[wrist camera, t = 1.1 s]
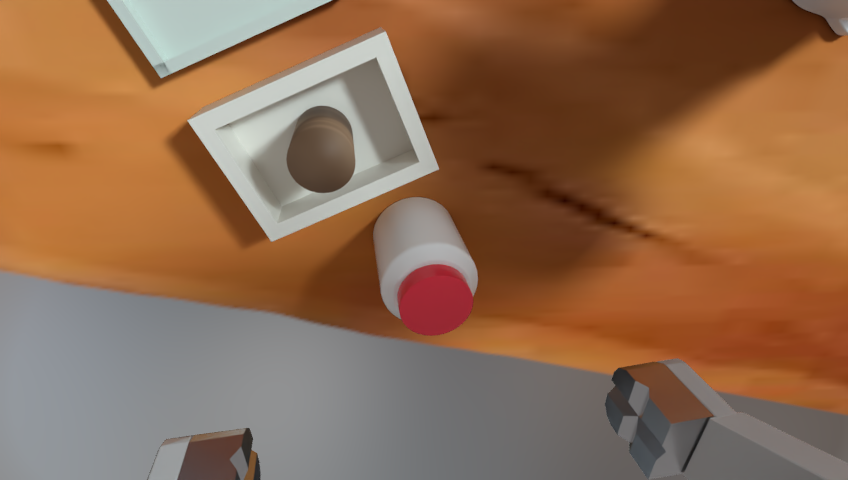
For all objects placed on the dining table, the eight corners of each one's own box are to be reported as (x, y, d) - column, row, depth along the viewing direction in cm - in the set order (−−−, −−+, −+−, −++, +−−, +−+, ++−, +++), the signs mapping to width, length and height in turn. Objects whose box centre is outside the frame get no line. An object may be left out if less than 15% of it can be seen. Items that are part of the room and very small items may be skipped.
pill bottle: (454, 262, 43) (487, 338, 34) (377, 273, 42) (388, 354, 33) (453, 191, 39) (489, 254, 30) (368, 202, 38) (377, 270, 29)
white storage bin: (380, 27, 31) (385, 31, 28) (429, 152, 37) (439, 169, 33) (203, 107, 32) (187, 120, 29) (277, 219, 37) (271, 241, 34)
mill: (336, 96, 32) (336, 117, 27) (362, 148, 35) (366, 177, 29) (284, 119, 33) (273, 145, 27) (312, 169, 35) (307, 202, 29)
